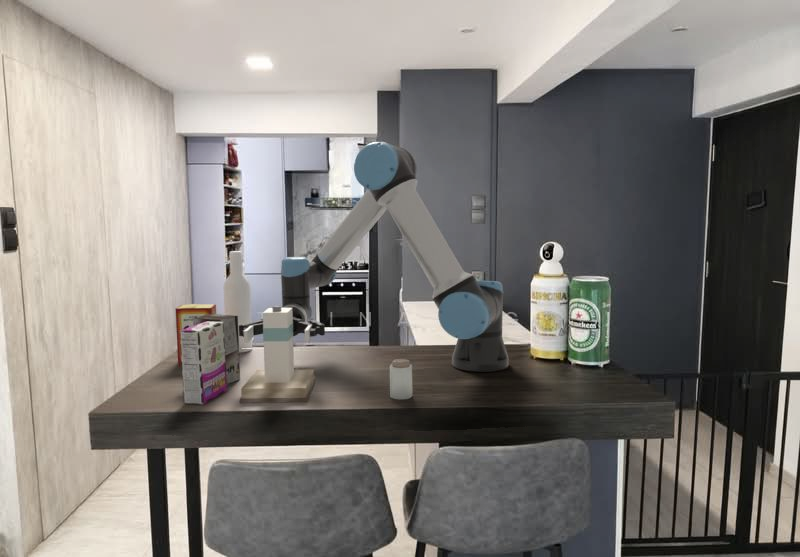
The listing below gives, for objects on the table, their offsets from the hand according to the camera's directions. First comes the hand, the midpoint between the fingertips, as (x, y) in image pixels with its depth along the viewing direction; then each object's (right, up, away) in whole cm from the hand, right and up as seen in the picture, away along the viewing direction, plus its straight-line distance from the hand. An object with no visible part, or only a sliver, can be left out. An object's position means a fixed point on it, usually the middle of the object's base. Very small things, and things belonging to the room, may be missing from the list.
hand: (275, 336), depth 136 cm
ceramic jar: (+28, -13, 0) cm, 31 cm away
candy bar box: (-16, -14, 0) cm, 21 cm away
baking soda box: (-29, -10, +34) cm, 46 cm away
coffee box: (-17, -12, +14) cm, 26 cm away
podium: (0, -13, +5) cm, 14 cm away
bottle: (-21, -9, +48) cm, 53 cm away
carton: (0, -10, +4) cm, 11 cm away
